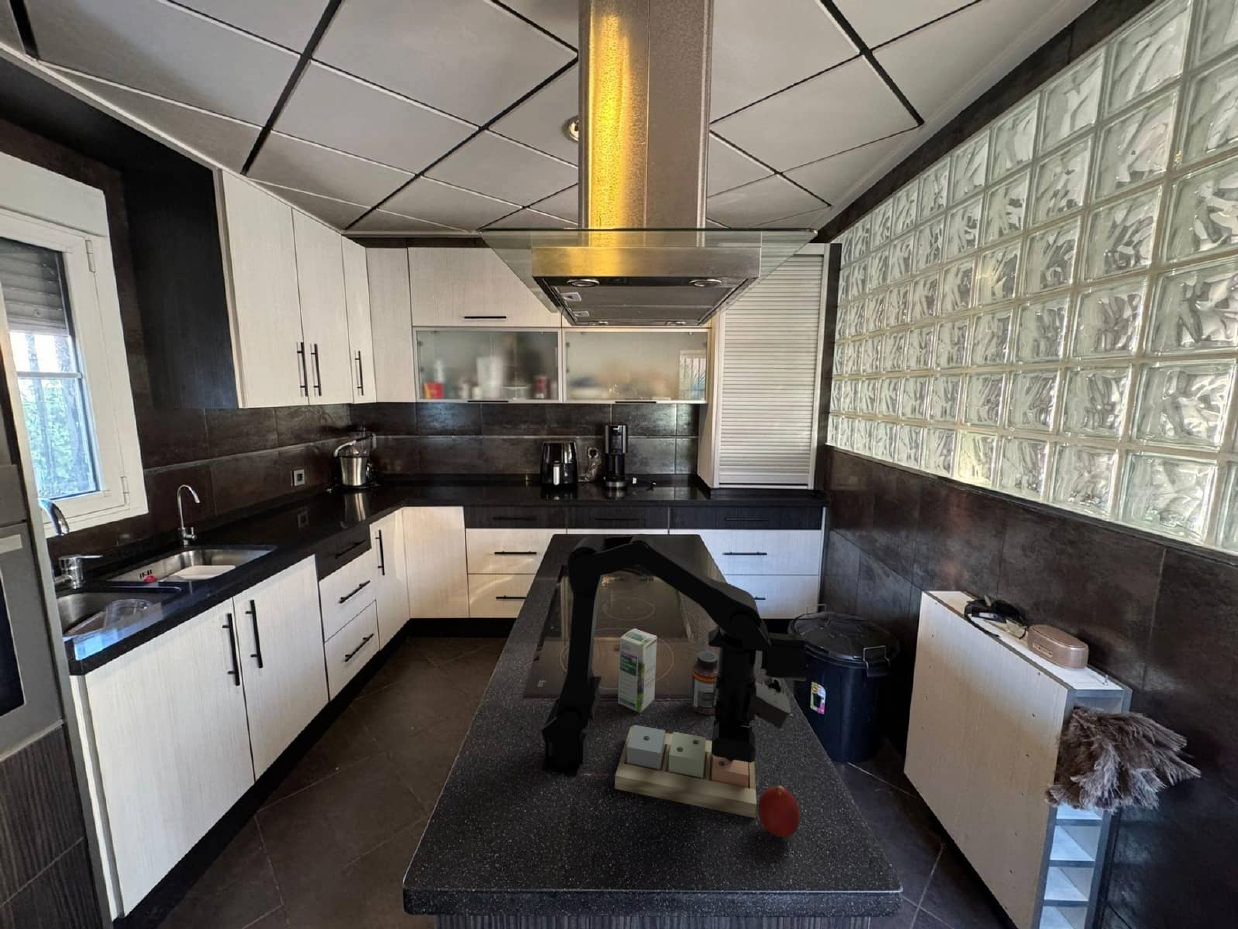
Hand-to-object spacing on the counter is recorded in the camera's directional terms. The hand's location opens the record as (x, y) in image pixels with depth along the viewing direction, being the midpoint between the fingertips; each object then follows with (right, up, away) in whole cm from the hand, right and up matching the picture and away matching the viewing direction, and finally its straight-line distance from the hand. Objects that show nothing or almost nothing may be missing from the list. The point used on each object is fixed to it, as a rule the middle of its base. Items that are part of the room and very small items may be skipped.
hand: (730, 758), depth 81 cm
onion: (+5, -6, -9) cm, 12 cm away
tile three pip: (0, -3, 0) cm, 3 cm away
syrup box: (-15, -1, +21) cm, 26 cm away
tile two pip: (-7, -2, +2) cm, 7 cm away
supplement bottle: (-1, -2, +20) cm, 20 cm away
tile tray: (-7, -4, +2) cm, 8 cm away
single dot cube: (-14, -1, +3) cm, 14 cm away
